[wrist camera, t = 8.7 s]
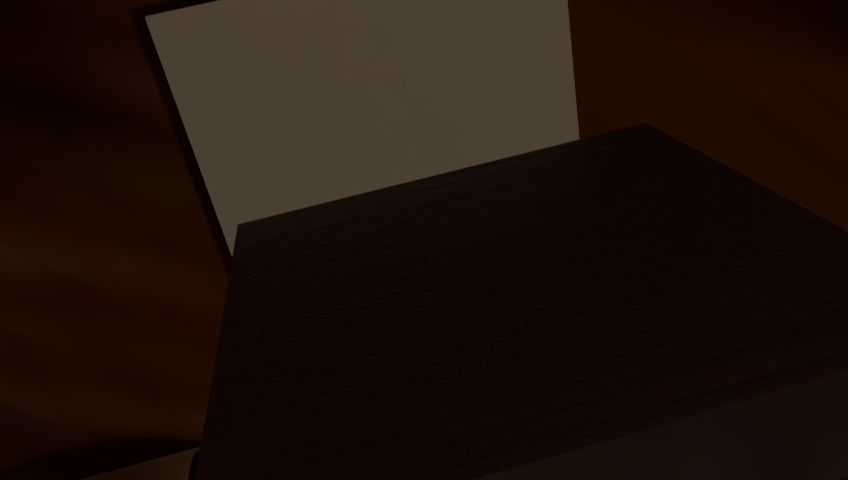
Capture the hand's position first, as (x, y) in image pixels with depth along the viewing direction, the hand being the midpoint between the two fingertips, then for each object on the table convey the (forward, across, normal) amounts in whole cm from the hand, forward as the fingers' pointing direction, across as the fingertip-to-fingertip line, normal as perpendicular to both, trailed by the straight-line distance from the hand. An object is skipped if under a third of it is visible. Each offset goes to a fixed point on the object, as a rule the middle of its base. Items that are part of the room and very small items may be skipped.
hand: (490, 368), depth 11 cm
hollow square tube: (+1, 0, 0) cm, 1 cm away
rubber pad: (+12, 0, 0) cm, 12 cm away
